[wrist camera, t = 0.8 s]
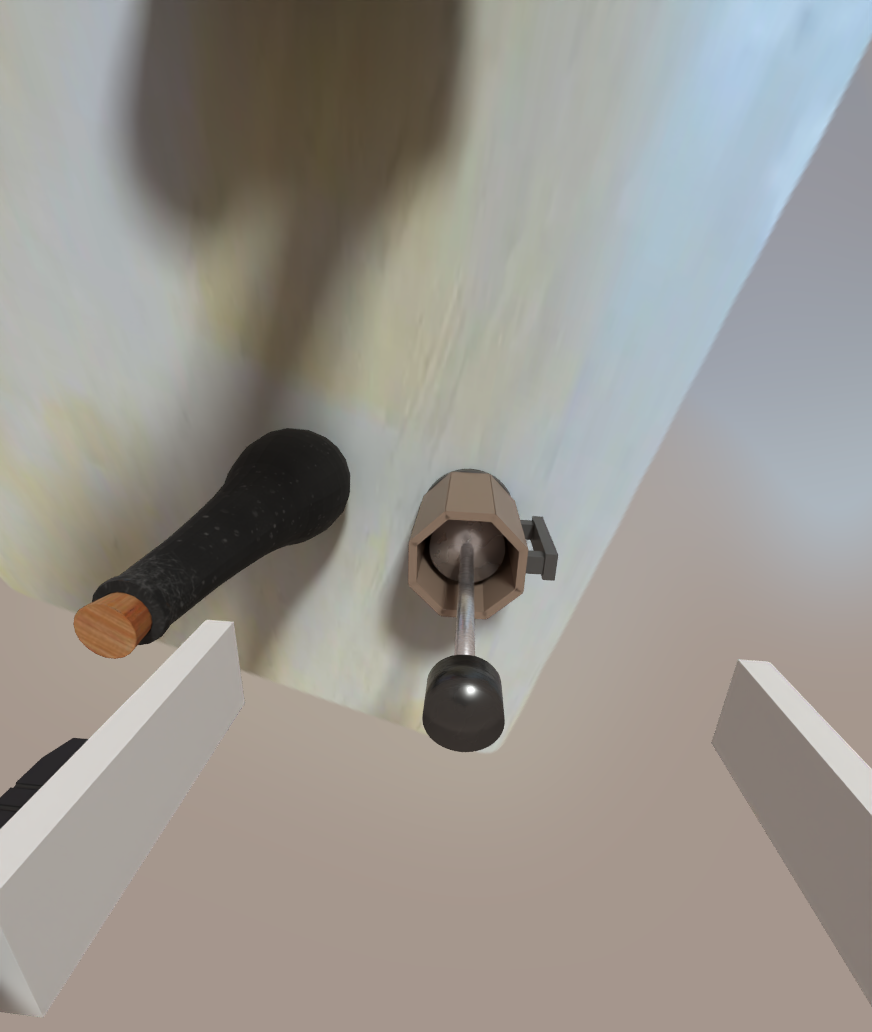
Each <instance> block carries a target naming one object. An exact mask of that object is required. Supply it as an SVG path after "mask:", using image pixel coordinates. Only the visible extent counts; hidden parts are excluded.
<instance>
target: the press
mask: <svg viewBox="0 0 872 1032" xmlns="http://www.w3.org/2000/svg"><path fill="white" fill-rule="evenodd" d="M448 519H450V520H466V521H483V522H492V523H493V524H494V525H495V526H496V527H497V528H498V530H499V531H500V532H501V533H502V534H503V537H504V542H505V555H504V559H503V561H502V563H501V565H500V567H499V568H498V569H497V570H496V572H494V573H493V574H492V575H491V576H489V577H488V578H486V579H484V580H481V581H478V582H474V619H486V618H487V619H488V618H489V617H491V616H492V615H493V614H495V613H496V612H498V611H499V610H500V609H502V608H503V607H504V606H506V605H507V604H509V603H510V602H511V601H513V600H514V599H515V598H517V597H518V596H520V595H521V594H522V593H523V591H524V582H525V574H526V573H528V574H541V576H542V579H543V580H554V581H555V574H556V567H557V560H558V553H557V551H556V548H555V546H554V544H553V541H552V539H551V536H550V534H549V531H548V529H547V527H546V524H545V522H544V519H543V517H537V516H532V521H530V520H520V518H519V514H518V511H517V507H516V504H515V501H514V500H513V499H512V497H511V495H510V493H509V492H508V490H507V488H506V487H505V486H504V485H503V483H502V482H500V481H499V480H498V479H497V478H496V477H494V476H492V475H491V474H489V473H486V472H484V471H480V470H475V469H461V470H456V471H452V472H450V473H448V474H446V475H444V476H442V477H441V478H439V479H438V480H437V481H436V482H435V483H434V484H433V485H432V486H431V488H430V489H429V490H428V492H427V493H426V494H425V495H424V497H423V499H422V502H421V505H420V509H419V512H418V515H417V518H416V521H415V524H414V527H413V530H412V534H411V537H410V540H409V557H408V584H409V586H410V587H411V588H412V589H413V590H414V591H415V592H416V593H417V594H418V595H419V596H420V597H421V598H422V599H423V600H424V601H425V602H426V603H427V604H428V605H429V606H430V607H431V608H432V609H433V610H434V611H435V612H436V613H438V614H439V615H441V616H446V617H457V602H458V584H459V582H458V581H454V580H452V579H450V578H448V577H446V576H444V575H443V574H442V573H441V572H440V571H439V570H438V569H437V568H436V567H435V565H434V563H433V561H432V559H431V556H430V548H429V547H430V540H431V536H432V533H433V532H434V531H435V530H436V529H437V528H439V527H440V526H441V525H442V524H443V523H444V522H446V521H447V520H448ZM525 539H527V540H531V543H532V546H533V550H534V551H528V547H527V543H526V540H525Z"/></svg>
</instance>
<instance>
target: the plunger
mask: <svg viewBox="0 0 872 1032" xmlns="http://www.w3.org/2000/svg"><path fill="white" fill-rule="evenodd" d="M429 548H430V556H431V559H432V561H433V563H434V565H435V567H436V568H437V569H438V570H439V571H440V572H441V573H442V574H443V575H444V576H446V577H448V578H450V579H452V580H454V581H458V582H459V584H458V602H457V620H456V638H455V655H454V656H450V657H447V658H445V659H443V660H441V661H439V662H438V663H437V664H436V665H435V666H434V667H433V668H432V669H431V671H430V673H429V675H428V679H427V687H426V694H425V702H424V710H423V725H424V728H425V730H426V732H427V734H428V735H429V736H430V738H431V739H432V740H434V741H435V742H436V743H437V744H439V745H441V746H442V747H445V748H447V749H450V750H454V751H459V752H473V751H478V750H481V749H484V748H486V747H488V746H490V745H491V744H493V743H494V742H495V741H496V740H497V739H498V738H499V737H500V735H501V733H502V731H503V729H504V721H505V720H504V709H503V697H502V686H501V679H500V676H499V674H498V672H497V671H496V669H495V668H494V667H493V666H492V665H491V664H490V663H488V662H487V661H485V660H483V659H481V658H479V657H476V656H475V621H474V582H478V581H481V580H484V579H486V578H488V577H489V576H491V575H492V574H493V573H494V572H496V570H497V569H498V568H499V567H500V565H501V563H502V561H503V559H504V555H505V542H504V537H503V534H502V533H501V532H500V531H499V530H498V528H497V527H496V526H495V525H494V524H493V523H492V522H483V521H466V520H450V519H448V520H447V521H446V522H444V523H443V524H442V525H441V526H440V527H439V528H437V529H436V530H435V531H434V532H433V533H432V536H431V540H430V547H429Z"/></svg>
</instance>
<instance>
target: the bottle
mask: <svg viewBox="0 0 872 1032" xmlns="http://www.w3.org/2000/svg"><path fill="white" fill-rule="evenodd" d="M349 493H350V472H349V469H348V466H347V462H346V459H345V458H344V456H343V455H342V453H341V452H340V450H339V449H338V447H337V446H335V445H334V444H333V443H332V442H331V441H329V440H328V439H327V438H326V437H323V436H321V435H319V434H316V433H314V432H311V431H309V430H300V429H289V428H286V429H282V430H278V431H273V432H270V433H268V434H266V435H264V436H263V437H261V438H260V439H258V440H257V441H255V442H253V443H252V444H251V445H249V446H248V447H246V449H245V450H244V451H243V452H242V454H241V455H240V456H239V458H238V459H237V461H236V462H235V463H234V465H233V466H232V468H231V470H230V471H229V473H228V475H227V478H226V481H225V483H224V485H223V486H222V487H221V489H220V490H219V491H218V492H217V493H216V494H215V496H214V497H213V498H212V499H211V500H210V501H209V502H208V503H207V504H206V505H205V506H204V507H202V508H201V509H200V510H199V511H198V512H197V513H196V514H195V515H194V516H193V517H192V518H191V519H190V520H189V521H187V522H186V523H185V524H184V525H183V526H182V527H181V528H179V529H178V530H177V531H176V532H175V533H174V534H173V535H172V536H170V537H169V538H168V539H167V540H166V541H164V542H163V543H162V544H160V545H159V546H158V547H156V548H155V549H154V550H152V551H151V552H150V553H148V554H147V555H146V556H144V557H143V558H142V559H140V560H139V561H138V562H137V563H135V564H134V565H133V566H131V567H130V568H129V569H127V570H126V571H125V572H123V573H122V574H121V575H119V576H116V577H113V578H111V579H109V580H108V581H106V582H104V583H103V584H102V585H100V586H99V587H98V589H97V590H96V592H95V593H94V595H93V600H92V603H90V604H88V605H86V606H84V607H83V608H81V609H79V610H78V612H77V613H76V615H75V617H74V628H75V632H76V634H77V636H78V638H79V640H80V641H81V642H82V643H83V644H84V645H85V646H86V647H87V648H88V649H89V650H91V651H93V652H94V653H96V654H98V655H100V656H103V657H106V658H114V659H116V658H122V657H125V656H127V655H129V654H130V653H131V652H132V651H133V650H134V649H135V647H136V646H137V645H143V644H149V643H151V642H153V641H155V640H157V639H158V638H160V637H161V636H163V634H164V633H165V632H166V630H167V629H168V628H169V626H170V625H171V624H172V623H173V622H175V621H176V620H177V619H178V618H180V617H181V616H182V615H183V614H185V613H186V612H187V611H188V610H190V609H191V608H192V607H193V606H195V605H196V604H197V603H198V602H199V601H201V600H202V599H203V598H204V597H206V596H207V595H208V594H209V593H211V592H212V591H213V590H214V589H216V588H217V587H218V586H220V585H221V584H222V583H224V582H225V581H227V580H228V579H230V578H231V577H233V576H234V575H235V574H237V573H238V572H240V571H241V570H243V569H244V568H246V567H247V566H249V565H250V564H252V563H253V562H255V561H257V560H258V559H260V558H261V557H263V556H264V555H266V554H268V553H270V552H272V551H274V550H276V549H279V548H281V547H284V546H287V545H293V544H298V543H301V542H304V541H306V540H308V539H311V538H313V537H314V536H316V535H318V534H320V533H321V532H323V531H325V530H326V529H327V528H329V527H330V526H331V525H332V523H333V522H334V521H335V520H336V519H337V518H338V517H339V515H340V514H341V513H342V512H343V511H344V508H345V505H346V503H347V500H348V497H349Z"/></svg>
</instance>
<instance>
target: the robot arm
mask: <svg viewBox="0 0 872 1032" xmlns="http://www.w3.org/2000/svg"><path fill="white" fill-rule="evenodd" d="M244 704H245V701H244V693H243V686H242V679H241V671H240V664H239V657H238V649H237V642H236V635H235V627H234V622H230V621H217V620H205V621H204V622H203V623H202V624H201V625H200V627H199V628H198V629H197V630H196V631H195V632H194V633H193V634H192V635H191V636H190V637H189V638H188V639H187V640H186V641H185V642H184V643H183V644H182V645H181V646H180V647H179V648H178V649H177V650H176V651H175V652H174V653H173V654H172V655H171V656H170V657H169V658H168V659H167V660H166V661H165V662H164V663H163V664H162V665H161V666H160V667H159V668H158V669H157V670H156V671H155V672H154V673H153V674H152V675H151V676H150V677H149V678H148V680H146V682H144V683H143V685H142V686H141V687H140V688H139V689H138V690H137V691H136V692H135V693H134V694H133V695H132V696H131V697H130V698H129V699H128V700H127V701H126V702H125V703H124V704H123V705H122V706H121V707H120V708H119V709H118V710H117V711H116V712H115V713H114V714H113V715H112V716H111V717H110V718H109V719H108V720H107V721H106V722H105V723H104V724H103V725H102V726H101V727H100V728H99V729H98V730H97V731H96V732H95V734H93V736H92V737H91V738H90V739H80V738H72V739H71V740H69V741H68V742H66V743H65V744H63V745H61V746H60V747H58V748H57V749H55V750H54V751H52V752H50V753H49V754H47V755H46V756H44V757H43V758H41V759H40V760H39V761H38V762H37V763H36V764H35V765H34V766H33V767H32V768H31V769H30V770H29V771H28V772H27V773H26V774H24V775H23V776H22V777H21V778H20V779H19V780H18V781H17V782H16V785H15V787H14V788H10V789H9V790H8V791H7V792H6V793H5V794H3V795H2V796H1V797H0V1012H5V1013H13V1014H21V1015H28V1016H37V1017H44V1016H45V1014H46V1013H47V1011H48V1009H49V1008H50V1006H51V1005H52V1003H53V1002H54V1000H55V998H56V997H57V995H58V994H59V992H60V991H61V989H62V988H63V986H64V985H65V983H66V981H67V980H68V978H69V977H70V975H71V974H72V972H73V970H74V969H75V967H76V966H77V964H78V962H79V961H80V959H81V958H82V956H83V955H84V953H85V952H86V950H87V949H88V947H89V946H90V944H91V942H92V941H93V939H94V938H95V936H96V935H97V933H98V931H99V930H100V928H101V927H102V925H103V924H104V922H105V920H106V919H107V917H108V916H109V914H110V913H111V911H112V910H113V908H114V906H115V905H116V903H117V902H118V900H119V899H120V897H121V896H122V894H123V892H124V891H125V889H126V888H127V886H128V885H129V883H130V882H131V880H132V878H133V877H134V875H135V874H136V872H137V871H138V869H139V867H140V866H141V864H142V863H143V861H144V860H145V858H146V856H147V855H148V853H149V852H150V850H151V849H152V847H153V846H154V844H155V842H156V841H157V839H158V838H159V836H160V835H161V833H162V832H163V830H164V829H165V827H166V825H167V824H168V822H169V821H170V819H171V818H172V816H173V815H174V813H175V811H176V810H177V808H178V807H179V805H180V804H181V802H182V800H183V799H184V797H185V796H186V794H187V793H188V791H189V790H190V788H191V786H192V785H193V783H194V782H195V780H196V779H197V777H198V776H199V774H200V772H201V771H202V769H203V768H204V766H205V765H206V763H207V762H208V760H209V758H210V757H211V755H212V754H213V752H214V750H215V749H216V747H217V746H218V744H219V743H220V741H221V740H222V738H223V737H224V735H225V733H226V732H227V730H228V729H229V727H230V726H231V724H232V723H233V721H234V719H235V718H236V716H237V715H238V713H239V712H240V710H241V709H242V707H243V705H244ZM711 743H712V744H713V746H714V748H715V750H716V751H717V753H718V755H719V756H720V758H721V760H722V761H723V763H724V765H725V766H726V768H727V770H728V771H729V773H730V774H731V776H732V778H733V779H734V781H735V782H736V784H737V786H738V787H739V789H740V791H741V792H742V794H743V796H744V797H745V799H746V801H747V802H748V804H749V806H750V807H751V809H752V810H753V812H754V814H755V815H756V817H757V819H758V820H759V822H760V824H761V825H762V827H763V828H764V830H765V832H766V834H767V835H768V837H769V839H770V840H771V842H772V843H773V845H774V847H775V848H776V850H777V852H778V853H779V855H780V857H781V858H782V860H783V862H784V863H785V865H786V866H787V868H788V870H789V871H790V873H791V875H792V876H793V878H794V880H795V881H796V883H797V884H798V886H799V888H800V889H801V891H802V893H803V894H804V896H805V898H806V899H807V901H808V903H809V904H810V906H811V908H812V909H813V911H814V912H815V914H816V916H817V917H818V919H819V921H820V922H821V924H822V926H823V927H824V929H825V931H826V932H827V934H828V935H829V937H830V939H831V940H832V942H833V943H834V945H835V947H836V949H837V950H838V952H839V954H840V955H841V957H842V958H843V960H844V962H845V963H846V965H847V967H848V968H849V970H850V971H851V973H852V975H853V977H854V978H855V980H856V981H857V983H858V985H859V986H860V988H861V990H862V991H863V993H864V995H865V996H866V998H867V1000H868V1001H869V1003H870V1004H871V1006H872V769H871V768H870V767H869V766H868V765H867V764H866V763H865V762H864V760H862V758H861V757H860V756H859V755H858V754H857V753H856V752H855V751H854V750H853V749H852V748H851V747H850V746H849V745H848V744H847V743H846V742H845V741H844V740H843V738H842V737H841V736H840V735H839V734H838V733H837V732H836V731H835V730H834V729H833V728H832V727H831V726H830V725H829V724H828V723H827V722H826V721H825V720H824V718H822V716H821V715H819V713H818V712H817V711H816V710H815V709H814V708H813V707H812V706H811V705H810V704H809V703H808V702H807V701H806V700H805V699H804V698H803V696H802V695H801V694H800V693H799V692H798V691H797V690H796V689H795V688H794V687H793V686H792V685H791V684H790V683H789V682H788V681H787V680H786V679H785V678H784V677H783V675H782V674H781V673H780V672H779V671H778V670H777V669H776V668H775V667H774V666H773V665H772V664H771V663H770V662H764V661H751V660H739V659H738V662H737V665H736V668H735V671H734V674H733V677H732V680H731V683H730V686H729V689H728V692H727V696H726V699H725V702H724V705H723V708H722V712H721V714H720V717H719V721H718V724H717V727H716V730H715V733H714V736H713V739H712V742H711Z"/></svg>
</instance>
